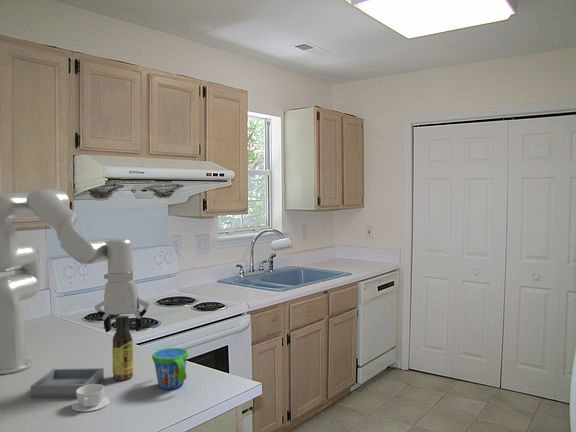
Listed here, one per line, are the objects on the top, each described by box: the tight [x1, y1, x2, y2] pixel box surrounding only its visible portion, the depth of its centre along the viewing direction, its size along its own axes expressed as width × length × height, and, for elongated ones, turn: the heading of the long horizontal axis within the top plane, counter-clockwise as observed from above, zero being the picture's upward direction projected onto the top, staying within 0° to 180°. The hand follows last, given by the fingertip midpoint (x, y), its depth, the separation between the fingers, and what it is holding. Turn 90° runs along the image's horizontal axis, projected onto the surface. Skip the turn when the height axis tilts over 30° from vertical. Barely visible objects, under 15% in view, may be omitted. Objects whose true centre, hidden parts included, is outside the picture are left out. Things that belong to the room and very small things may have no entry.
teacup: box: [71, 383, 111, 413], centre depth 140 cm, size 10×10×5 cm
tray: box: [30, 367, 105, 399], centre depth 152 cm, size 16×14×4 cm
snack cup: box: [151, 347, 189, 390], centre depth 153 cm, size 16×10×10 cm
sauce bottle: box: [112, 314, 134, 381], centre depth 160 cm, size 7×6×20 cm
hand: (123, 330), depth 159 cm, fingers open, 9 cm apart
